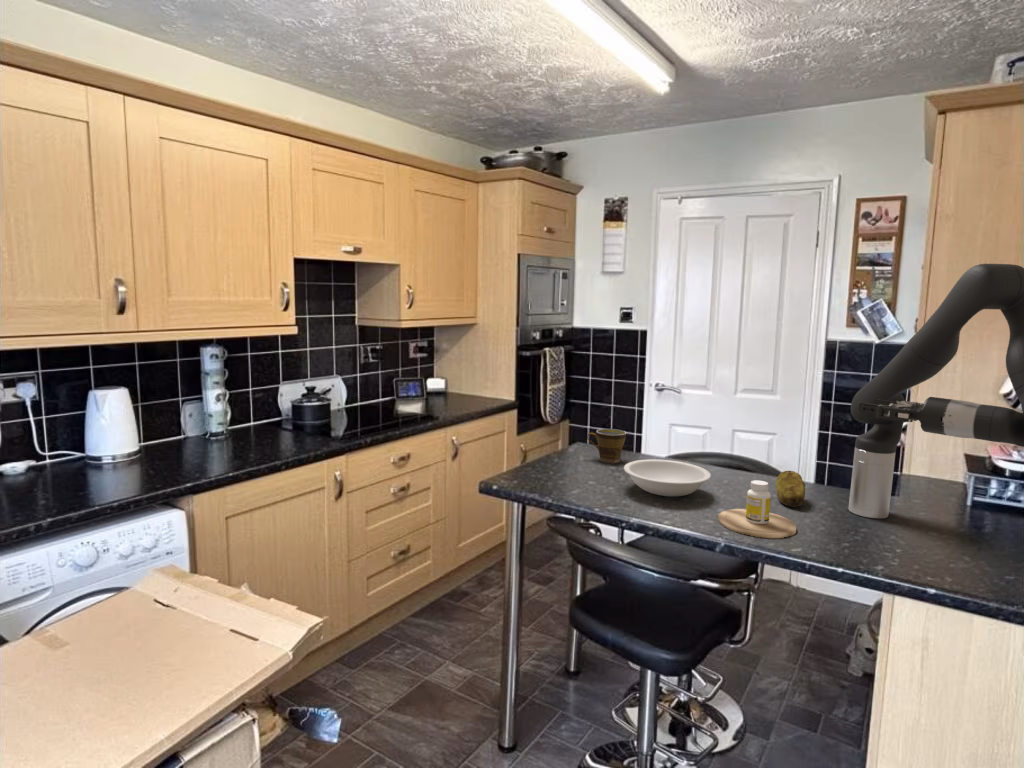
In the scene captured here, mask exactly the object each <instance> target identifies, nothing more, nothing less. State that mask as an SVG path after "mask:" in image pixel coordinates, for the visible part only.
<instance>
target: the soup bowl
mask: <svg viewBox="0 0 1024 768" xmlns="http://www.w3.org/2000/svg"><path fill="white" fill-rule="evenodd" d="M623 470H624V472H625V473H626V474H627V475H629V476H630V478H631V480H632V481H633V482H634V483H635V484H636V485H637V486H638V488H640V489H642V490H644V491H645V492H646V493H647V492H648V493H650V494H654V495H657V496H661V497H662V496H664V497H681V496H687V495H690V494H692V493H694V492H695V491H697V490H698V489H700V488H701V486H702V485H703V484H704V483H705V482H707V481H709V480H710V479H711V477H712V474H711V472H710V471H709V470H707V469H705V468H703V467H701V466H699V465H695V464H692V463H689V462H684V461H683V462H682V461H678V460H677V461H676V460H670V459H669V460H668V459H667V460H666V459H655V458H654V459H651V458H650V459H639V460H638V459H637V460H633V461H630V462H628V463H627V462H626V464H625V465H624V466H623Z"/></svg>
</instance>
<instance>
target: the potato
mask: <svg viewBox="0 0 1024 768" xmlns="http://www.w3.org/2000/svg"><path fill="white" fill-rule="evenodd" d="M775 489H776V496H777V498H778V501H779V502H780V503H782V504H784V505H786V506H787V507H790V508H797V507H800V506H801V505H802V504H803V503H804V501H805V497H806V484H805V481H804V480H803V477H802V476H801V474H799V473H798V472H796V471H793V470H784V471H782V472H780V473H779V474H778V476H777V478H776V480H775Z"/></svg>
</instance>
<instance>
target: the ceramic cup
mask: <svg viewBox="0 0 1024 768" xmlns="http://www.w3.org/2000/svg"><path fill="white" fill-rule="evenodd" d="M590 435H593V436H594V437H595V439H596V440H597V445H596V444H595V443H594V441H592V440H591V439H590V438H589V436H590ZM626 437H627V432H626V431H625V430H622V429H618V428H617V429H616V428H600V429H597V430H596V432H595V433H594V432H589V433H587V436H586V438H587V440H588V441H589V442H590V443H591V444H592V445H593V446H594V447H596V449H597V451H598V453H599V460H600V462H603V463H607V464H616V463H620V461H621V456H622V451H623V448H624V444H625V441H626Z"/></svg>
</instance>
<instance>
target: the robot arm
mask: <svg viewBox="0 0 1024 768" xmlns="http://www.w3.org/2000/svg"><path fill="white" fill-rule="evenodd" d="M983 310H1000V311H1001V313H1002V315H1003V316H1004V318H1005V320H1006V322H1007V326H1008V329H1009V339H1008V344H1007V345H1008V346H1007V350H1006V355H1005V368H1006V372H1007V375H1008V377H1009V378H1008V379H1009V380H1010V382H1011V385H1012V387H1013V390H1014V393H1015V395H1016V397H1017V399H1018V401H1019V402H1020V407H1021V409H1022V410H1021V411H1022V412H1020V411H1017V410H1015V409H1014V408H1013V409H1012V408H1010V407H1005V406H997V405H990V404H981V403H976V402H973V401H968V400H962V399H961V400H960V399H951V398H944V397H936V396H935V397H934V396H929V397H927V398H926V399H925V400H924V402H923V403H921V402H917V401H909V400H906V399H905V397H904V396H903V394H902V392H904V391H906V390H908V389H910V388H914V387H915V386H917V385H919V384H922V383H924V382H926V381H927V380H930V379H932V378H933V377H935V376H936V375H938V373H939V372H940V371H942V370H943V369H944V368H945V367H946V366H947V364H949V363H950V362H951V361H952V360H953V359H954V357H955V356H956V355H957V352H958V351H959V350H958V349H959V344H960V335H961V331H962V329H963V327H964V326H965V325H967V324H968V322H969V321H970V320H971V319H972V318H973V317H974V316H976V315H977V314H978V313H980V312H981V311H983ZM850 413H851V415H852V418H853V419H854V420H855V421H857V422H859V423H862V424H866V425H873V426H872V427H871V428H870V429H869V430H867V431H866V432H865V433H861V434H859V435H858V436H856V439H855V442H854V443H855V444H854V453H853V461H852V462H853V464H852V471H851V480H850V481H851V482H850V489H849V490H850V491H849V499H848V500H849V501H848V510H849V512H850V513H853V514H854V515H857V516H861V517H864V518H869V519H887V518H888V517H889V512H890V505H891V504H890V503H891V497H892V495H891V494H892V488H893V487H892V486H893V478H894V471H895V461H896V451H897V446H898V445H899V444H900V441H901V437H902V432H903V426H904V423H914V422H917V421H919V423H920V428H921V430H922V431H923V432H925V433H930V434H935V435H936V434H937V435H942V436H947V437H954V438H959V439H960V438H961V439H974V440H975V439H976V440H981V441H986V442H992V443H1000V444H1001V443H1003V444H1010V445H1013V446H1017V447H1022V448H1024V267H1023V266H1020V265H1018V264H1013V263H981V264H976V265H973V266H972V267H969V269H967V270H966V271H965V272H964V273H963V274H962V275H961V276H960V278H959V279H958V280H957V281H956V282H955V284H954V286H953V287H952V288H951V290H950V291H949V292H948V294H947V295H946V297H945V298H944V299H943V300H942V302H941V304H940V305H939V307H938V308H937V309H936V310H935V311H934V312H933V313H932V315H931V316H930V317H929V318H928V319H927V321H926V322H925V323H924V324H923V325H922V326H921V328H919V329H918V331H917V332H916V333H915V334H914V335H913V336H912V337H911V338H910V339H909V340H908V341H907V342H906V343H905V344H904V345H903V347H902V348H901V349H900V350H899V352H898V353H897V354H896V355H895V356H894V357H893V358H892V359H891V360H890V361H889V362H888V364H887V365H885V366H884V368H883V369H882V370H881V371H879V373H877V375H875V376H874V377H873V378H872V379H870V381H868V382H867V383H866V384H865V385H863V386H862V387H861V388H860V389H858V391H857V392H856V393H855V395H854V396H853V398H852V401H851V404H850Z"/></svg>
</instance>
